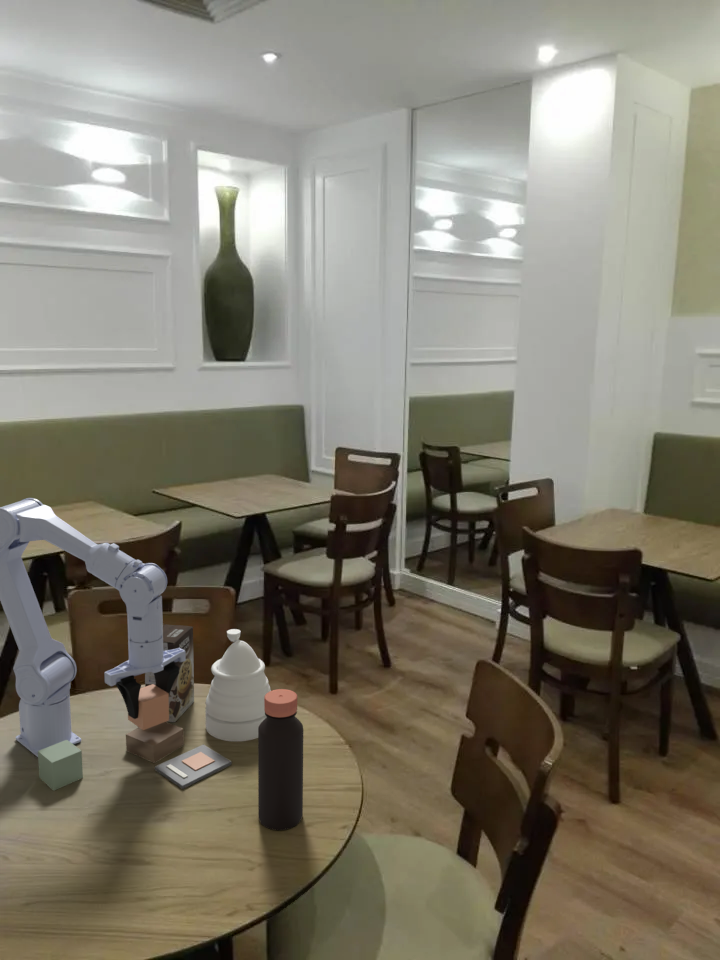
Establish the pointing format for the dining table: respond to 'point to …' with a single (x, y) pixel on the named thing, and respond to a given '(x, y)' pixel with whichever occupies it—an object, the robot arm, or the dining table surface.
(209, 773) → the card
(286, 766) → the bottle
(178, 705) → the coffee box
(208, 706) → the honey pot
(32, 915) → the dining table surface
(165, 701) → the terracotta block
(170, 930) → the dining table surface
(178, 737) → the walnut base
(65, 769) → the sage block
